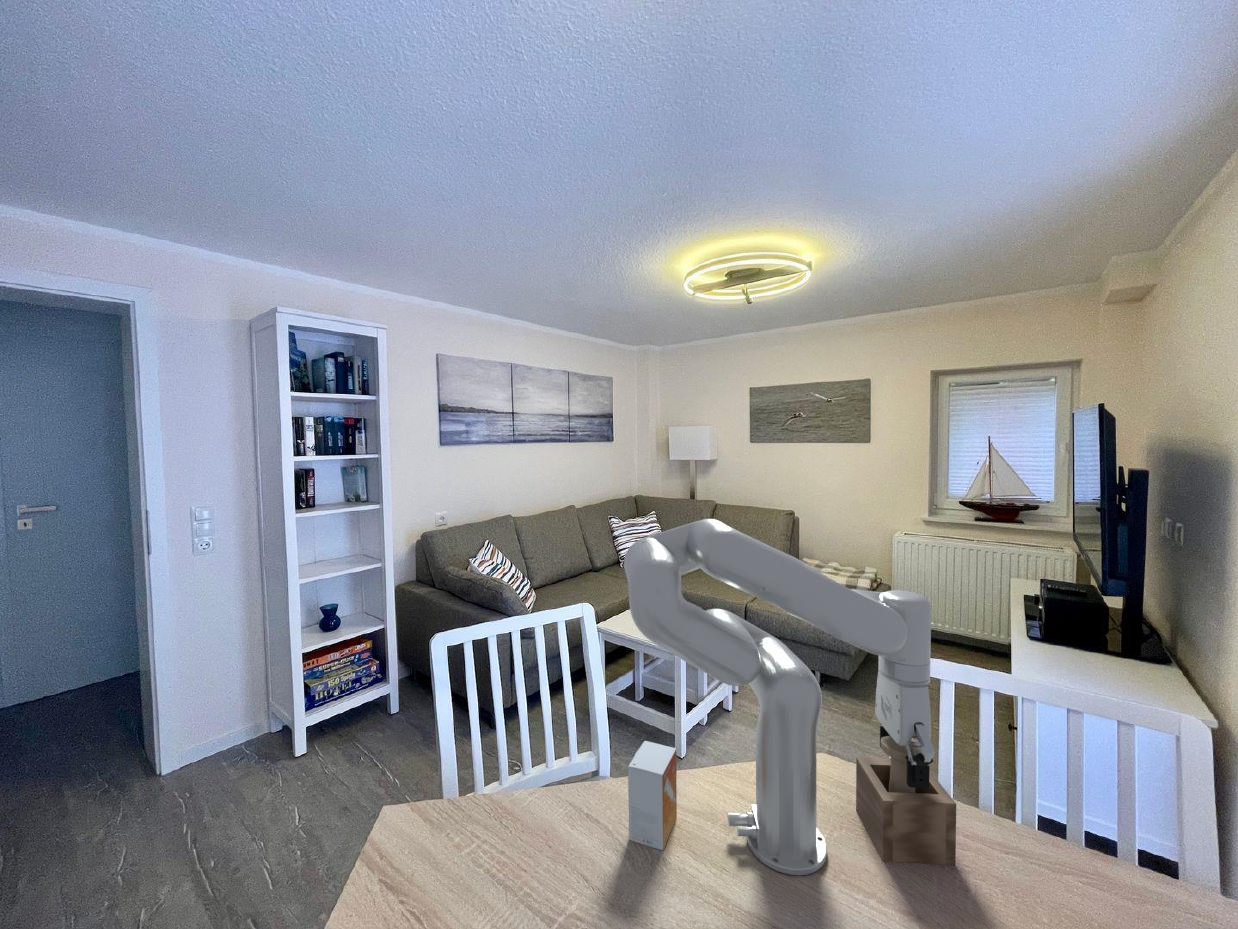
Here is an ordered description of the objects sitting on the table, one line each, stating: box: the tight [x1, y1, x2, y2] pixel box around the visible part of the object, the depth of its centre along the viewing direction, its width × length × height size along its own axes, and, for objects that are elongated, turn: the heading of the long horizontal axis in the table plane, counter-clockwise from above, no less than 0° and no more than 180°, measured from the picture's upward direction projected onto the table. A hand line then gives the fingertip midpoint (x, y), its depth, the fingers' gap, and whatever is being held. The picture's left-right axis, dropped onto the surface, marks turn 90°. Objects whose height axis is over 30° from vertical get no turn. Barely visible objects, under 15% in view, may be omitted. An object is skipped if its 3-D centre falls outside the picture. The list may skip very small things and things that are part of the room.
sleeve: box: [855, 756, 957, 866], centre depth 85 cm, size 11×11×10 cm
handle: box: [880, 736, 921, 793], centre depth 85 cm, size 5×6×15 cm
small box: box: [627, 740, 678, 851], centre depth 87 cm, size 8×6×13 cm
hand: (902, 766), depth 84 cm, fingers open, 9 cm apart
